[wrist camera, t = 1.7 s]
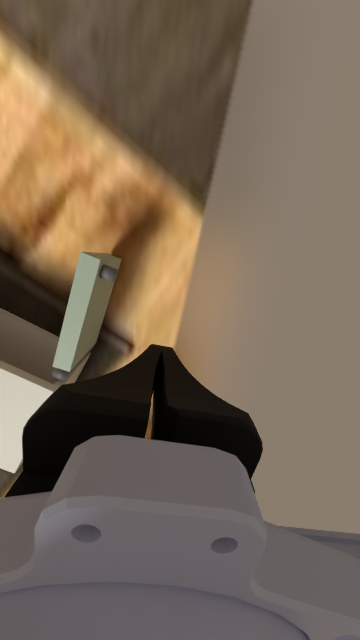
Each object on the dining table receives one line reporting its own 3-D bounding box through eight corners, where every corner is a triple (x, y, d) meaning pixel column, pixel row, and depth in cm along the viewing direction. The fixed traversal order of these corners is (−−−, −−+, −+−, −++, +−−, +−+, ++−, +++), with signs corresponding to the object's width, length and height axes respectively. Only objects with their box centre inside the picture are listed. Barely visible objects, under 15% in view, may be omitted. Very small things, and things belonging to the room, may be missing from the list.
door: (80, 347, 19) (49, 378, 14) (107, 253, 16) (80, 251, 11) (102, 355, 19) (78, 387, 14) (131, 263, 17) (115, 265, 12)
